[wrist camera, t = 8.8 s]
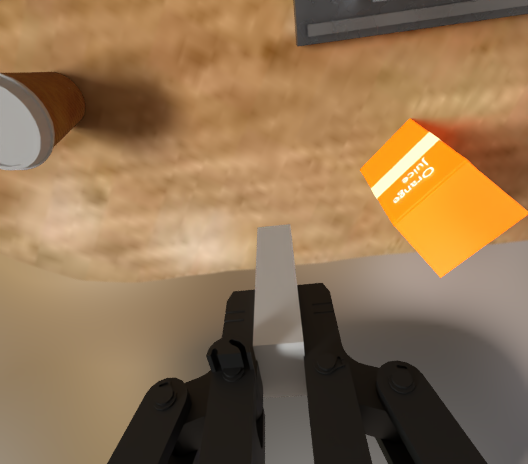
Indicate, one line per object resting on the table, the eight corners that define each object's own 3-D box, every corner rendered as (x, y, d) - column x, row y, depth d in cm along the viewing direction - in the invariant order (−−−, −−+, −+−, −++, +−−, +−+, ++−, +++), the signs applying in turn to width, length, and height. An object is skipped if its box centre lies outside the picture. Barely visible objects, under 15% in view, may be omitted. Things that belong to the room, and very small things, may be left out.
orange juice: (358, 169, 46) (411, 258, 29) (409, 117, 42) (504, 184, 25) (396, 200, 49) (465, 298, 32) (448, 153, 45) (557, 236, 28)
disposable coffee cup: (32, 37, 38) (-53, 45, 28) (111, 93, 41) (61, 119, 31) (7, 106, 42) (-75, 135, 32) (81, 152, 45) (27, 192, 35)
